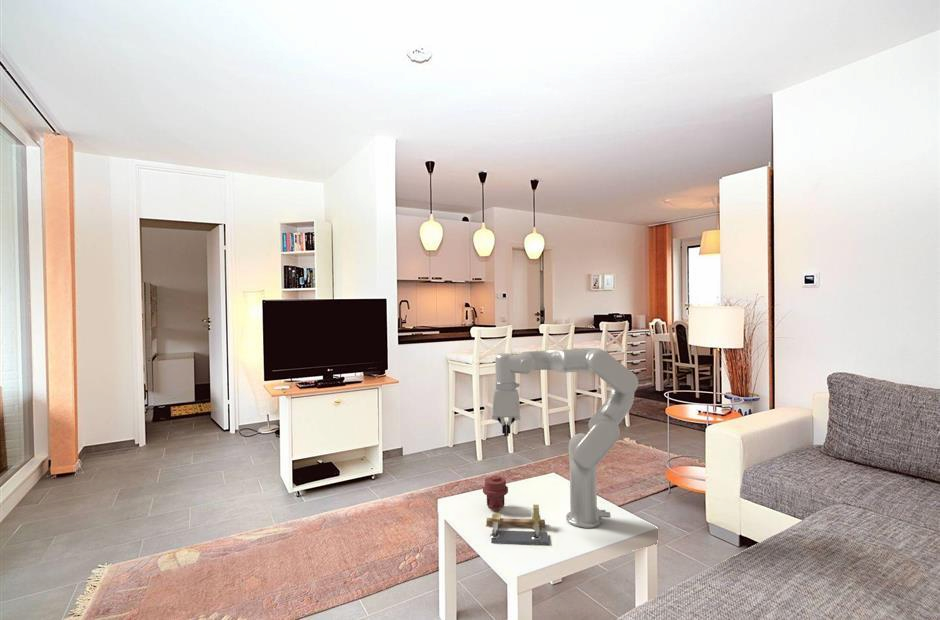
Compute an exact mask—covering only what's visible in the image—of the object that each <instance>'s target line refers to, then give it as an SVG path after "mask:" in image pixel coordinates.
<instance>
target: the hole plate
mask: <svg viewBox="0 0 940 620" xmlns="http://www.w3.org/2000/svg"><path fill="white" fill-rule="evenodd" d="M489 537H491V540H490V541H491V544H508V545H509V544H515V545H535V546H536V545H537V546H538V545H539V546H550V545H549V535H548V531H539V537H536V534H535V530H534V531H532V530H531V531H527V530H526V531H525V530H503V529H502V530H501V529H500V530H499V529H497V533H496V536H495V535H493V529H492V532H491V533H490V534H489Z"/></svg>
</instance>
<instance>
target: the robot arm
mask: <svg viewBox="0 0 940 620" xmlns="http://www.w3.org/2000/svg"><path fill="white" fill-rule="evenodd" d="M494 360H495V361H494V362H495V367H494V368H495V369H494V370H495V389H493V395H492V417H491V420H494V421H498V423H499V424H501V427H502V429H501V430H502V431H501V434H503V435H504V437H506V436H507V437H509V435H510V434H511V426H512V425H513V423H514V422H515V421H520V420H521V415H520V413H521V412H520V411H521V407H520V394H519V390H518V389H517V388H520V383H518V382H517V381H516V380H517V379H516V374H522V375H529V374H531V373H533V372H534V371H541V370H542V371H545V370H546V371H554V372H558V373H564V374H565V373H580V372H583V373H584V372H587V373H588V372H593V373H594V374H595V375H597V377H599V378H601V380H602V381H604V382H605V383H606V384H608V385H609V386H610V388H611V389H610V393H609V396H608V397H607V399H606V400H605V402H604V403H603V404H602V405H601V406H600V408H599V409H598V410H597V411H596V412H595V413H594V414H593V415H592V417H590V419H589V421H588V429H589V430H588V431H587V433H583V432H580V433H576V434H574V435H573V436H572V437H571V438H570V440H569V441H568V442H569V443H568V457H569V458H568V459H569V460H568V462H569V491H570V492H569V494H570V495H569V497H570V498H569V499H570V500H569V501H570V504H569V505H570V511H569V512H567V514H566V516H565V517H566V518H565V519H566V521H567V522H568V523H569V524H570V525H572V526H575V527H578V528H584V529H585V528H586V529H592V528H596V527H598V526H600V525H601V524H602V518H607V519H608V518H609V519H610V518H612V517H611V516H612V515H611V512H610V511H606V510H607V509H599V508H598V502H597V501H598V500H597V499H598V497H597V496H598V493H597V466H598V464H599V463H600V462H601V461H602V460H603V459H604V457H605V456H607V454H608V453H609V452H610V450H612V448H613V447H614V446H615V445H616V444H617V442H618V440H619V437H620V433H621V431H620V427H619V424H620V423H621V422H622V421H623V420H624V418H625V417H626V416H627V414H628V413H629V412H630V410H631V408H632V407H633V404H634V401H635V393H636V390H637V389H638V387H639V379H638V377H637V375H636V374H635V373H634V372H632V371H631V370H630V369H629V368H628V367H626V366H625V365H624V364H623V363H621V362H620V361H619V360H618V359H616V358H615V357H613V355H612V354H610V353H609V352H608V351H606V350H604V349H602V348H599V347H587V348H571V349H568V348H566V349H555V350H554V349H553V350H534V351H532V350H531V351H530V350H529V351H522V352H520V353H519V354H513V353H507V352H506V353H498V354H496V355H495V359H494ZM505 418H508V420H507V422H506V421H505Z"/></svg>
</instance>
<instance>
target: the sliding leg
mask: <svg viewBox="0 0 940 620" xmlns="http://www.w3.org/2000/svg"><path fill="white" fill-rule="evenodd" d="M532 508H533V509H532V510H533V511H532V513H533V514H531V519H532V528H531V529H532V530H533V529H534V532H535V534H536V537H539V532H540V530H541V529H542V528H541V520H542V519H541V514H540V505H539V504H533V505H532Z"/></svg>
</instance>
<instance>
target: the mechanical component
mask: <svg viewBox="0 0 940 620" xmlns="http://www.w3.org/2000/svg"><path fill="white" fill-rule="evenodd" d="M482 492H483V494H484V495H485V496H486V506H487V508H488V509H491V510H493V512H494V513H495V512H496V513H497V512H499V511H500V509H502V508H504V506H505V496H506V495H507V494H508V493H509V487H508V485H507V480H506V478H504V477H502V476H499V475H491V476H488V477H486V478H484V485H483V487H482Z"/></svg>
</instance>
